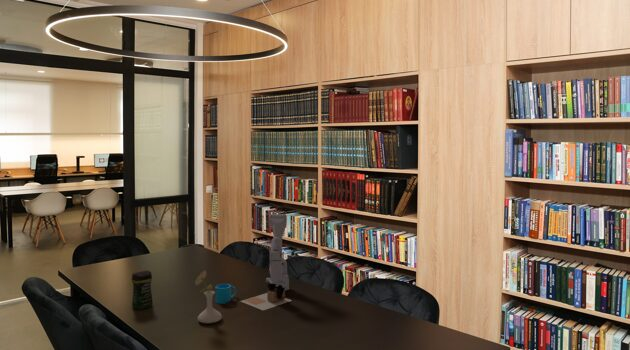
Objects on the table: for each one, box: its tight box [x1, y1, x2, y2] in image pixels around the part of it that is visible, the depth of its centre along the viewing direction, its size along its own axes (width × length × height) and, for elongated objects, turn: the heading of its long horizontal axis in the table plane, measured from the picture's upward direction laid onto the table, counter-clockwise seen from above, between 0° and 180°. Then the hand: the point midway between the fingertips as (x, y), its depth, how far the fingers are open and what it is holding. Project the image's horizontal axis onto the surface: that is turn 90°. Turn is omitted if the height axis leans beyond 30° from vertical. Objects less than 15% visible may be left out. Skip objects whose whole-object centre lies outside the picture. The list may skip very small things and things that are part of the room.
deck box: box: [266, 289, 286, 303], centre depth 244 cm, size 8×5×5 cm, turn 136°
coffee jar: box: [131, 270, 153, 310], centre depth 236 cm, size 10×8×19 cm
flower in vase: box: [194, 270, 223, 324], centre depth 217 cm, size 13×11×25 cm
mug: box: [215, 283, 237, 305], centre depth 247 cm, size 12×8×8 cm
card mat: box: [240, 292, 293, 311], centre depth 244 cm, size 20×19×1 cm
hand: (276, 297), depth 244 cm, fingers closed on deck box, 5 cm apart
